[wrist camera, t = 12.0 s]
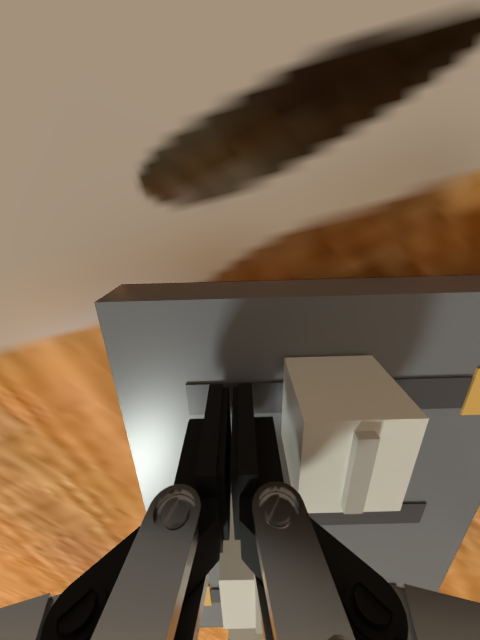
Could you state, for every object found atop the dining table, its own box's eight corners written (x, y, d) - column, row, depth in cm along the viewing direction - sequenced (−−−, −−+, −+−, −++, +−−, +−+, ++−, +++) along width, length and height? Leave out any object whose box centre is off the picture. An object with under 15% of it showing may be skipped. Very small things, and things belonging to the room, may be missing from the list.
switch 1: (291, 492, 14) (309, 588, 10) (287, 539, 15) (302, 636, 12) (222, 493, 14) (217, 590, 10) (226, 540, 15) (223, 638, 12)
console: (518, 273, 12) (586, 289, 10) (403, 578, 22) (423, 624, 19) (121, 284, 12) (93, 303, 10) (181, 583, 22) (174, 630, 19)
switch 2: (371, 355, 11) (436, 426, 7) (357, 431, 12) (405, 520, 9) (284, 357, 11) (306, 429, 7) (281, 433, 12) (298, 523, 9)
